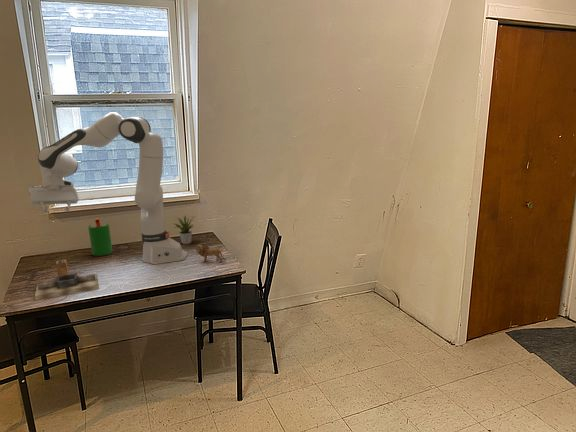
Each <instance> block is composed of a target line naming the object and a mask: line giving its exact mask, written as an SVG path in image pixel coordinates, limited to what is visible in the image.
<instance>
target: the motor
mask: <svg viewBox="0 0 576 432" xmlns="http://www.w3.org/2000/svg"><path fill="white" fill-rule="evenodd" d="M87 227H88V233H89V241H90V246H91V254H92V256H94V257H98V256H99V257H100V256H107V255H110V254H112V253H113V244H112V237H111V231H110V224H109V223H106V224H105V225H101V221H100V218H99V217H98V218H97V217H96V218H95V226H94V227H93V226H92V225H91V224H89V225H88V226H87Z"/></svg>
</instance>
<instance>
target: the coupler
mask: <svg viewBox="0 0 576 432" xmlns="http://www.w3.org/2000/svg"><path fill="white" fill-rule="evenodd" d="M55 264H56V270H57V271H56V272H57V277H58V276H62V275H68V274H69V268H68V262H67V259H60V260H57V261H56V262H55Z"/></svg>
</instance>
